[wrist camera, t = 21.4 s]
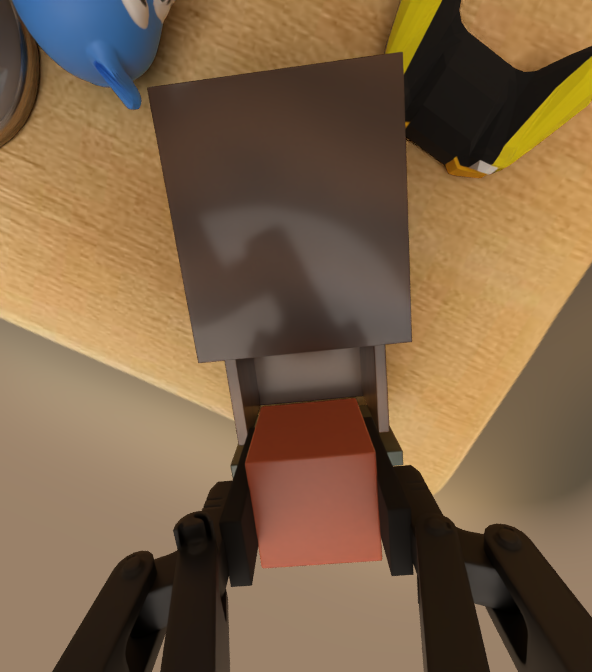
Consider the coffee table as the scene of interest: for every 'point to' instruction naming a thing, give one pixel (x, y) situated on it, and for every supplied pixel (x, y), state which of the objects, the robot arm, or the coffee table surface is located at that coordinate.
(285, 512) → the block
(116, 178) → the coffee table surface
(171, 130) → the cabinet
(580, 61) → the gaming controller
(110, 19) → the blue mole toy
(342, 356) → the drawer
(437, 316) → the coffee table surface
